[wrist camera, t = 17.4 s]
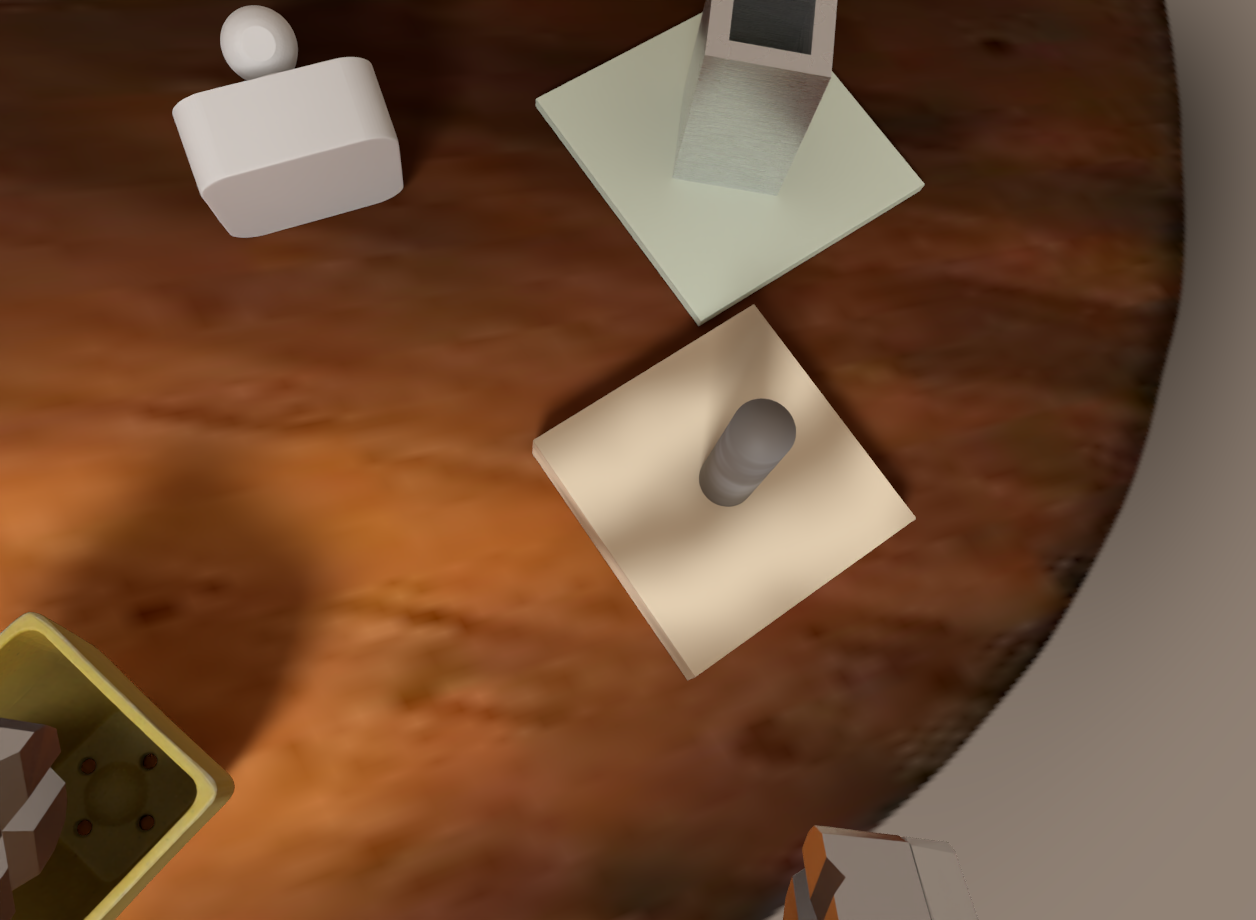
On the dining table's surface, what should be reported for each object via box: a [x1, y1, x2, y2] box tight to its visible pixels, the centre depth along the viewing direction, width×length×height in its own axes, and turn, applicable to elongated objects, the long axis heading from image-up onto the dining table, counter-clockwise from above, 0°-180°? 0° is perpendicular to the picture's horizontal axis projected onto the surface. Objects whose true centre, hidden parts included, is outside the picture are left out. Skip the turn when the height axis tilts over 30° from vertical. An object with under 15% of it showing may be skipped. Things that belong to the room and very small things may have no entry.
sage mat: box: [536, 12, 924, 326], centre depth 50 cm, size 14×14×1 cm
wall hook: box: [172, 5, 403, 238], centre depth 44 cm, size 8×10×10 cm
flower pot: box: [0, 612, 235, 920], centre depth 35 cm, size 9×9×9 cm
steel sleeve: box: [673, 0, 837, 196], centre depth 45 cm, size 5×5×9 cm
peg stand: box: [533, 304, 916, 680], centre depth 41 cm, size 12×12×9 cm
